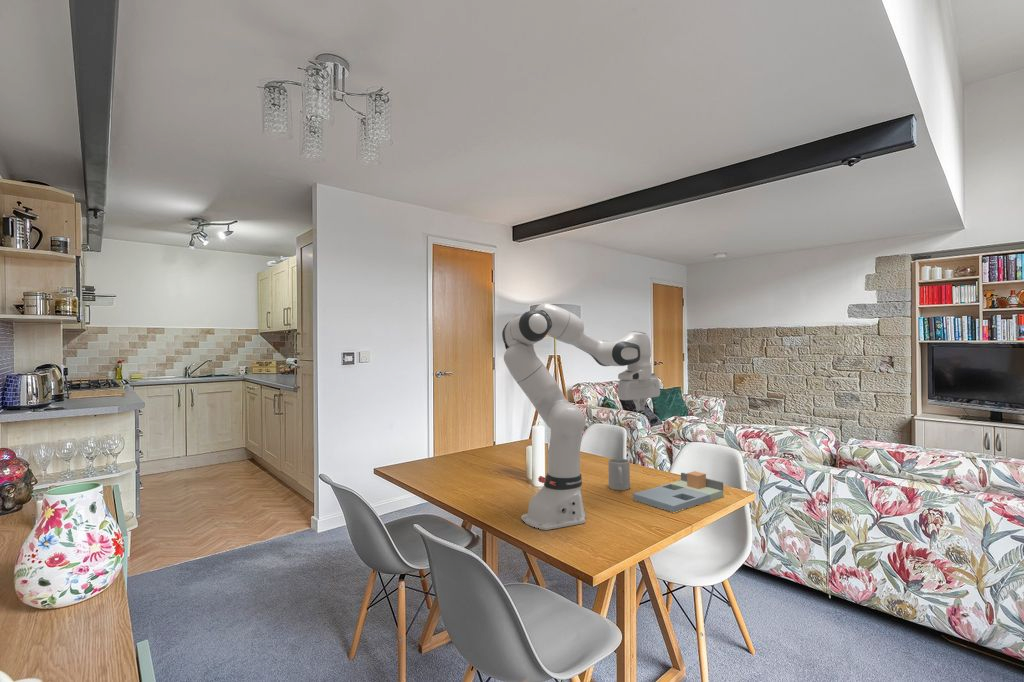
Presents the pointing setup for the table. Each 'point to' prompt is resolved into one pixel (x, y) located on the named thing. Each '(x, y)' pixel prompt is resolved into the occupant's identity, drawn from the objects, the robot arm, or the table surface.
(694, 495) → the platform
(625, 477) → the mug
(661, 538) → the table surface
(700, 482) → the block
